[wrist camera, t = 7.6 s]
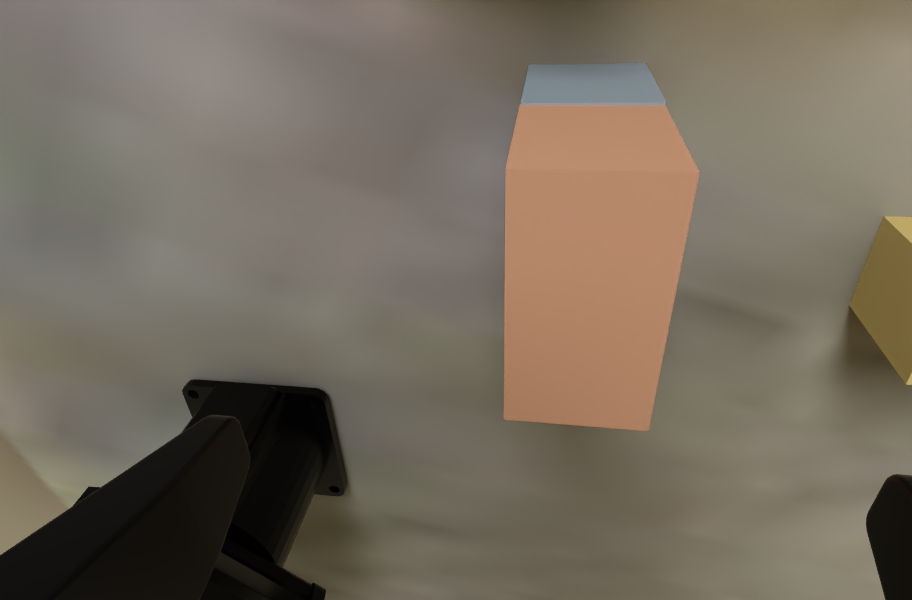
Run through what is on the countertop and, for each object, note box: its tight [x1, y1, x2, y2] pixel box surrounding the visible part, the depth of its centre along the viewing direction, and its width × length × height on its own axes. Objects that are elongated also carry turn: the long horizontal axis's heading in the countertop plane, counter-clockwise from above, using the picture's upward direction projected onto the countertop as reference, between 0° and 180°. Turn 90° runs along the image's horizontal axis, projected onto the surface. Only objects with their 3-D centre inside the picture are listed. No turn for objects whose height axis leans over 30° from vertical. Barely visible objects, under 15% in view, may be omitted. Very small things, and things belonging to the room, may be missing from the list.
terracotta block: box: [504, 105, 700, 431], centre depth 13 cm, size 6×3×4 cm, turn 2°
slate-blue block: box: [521, 63, 666, 106], centre depth 16 cm, size 6×3×4 cm, turn 3°
